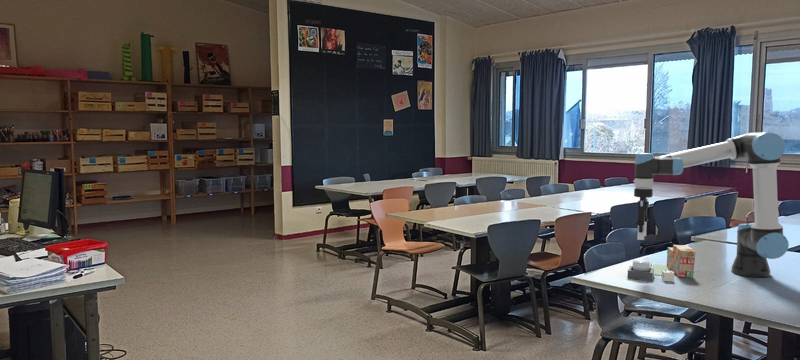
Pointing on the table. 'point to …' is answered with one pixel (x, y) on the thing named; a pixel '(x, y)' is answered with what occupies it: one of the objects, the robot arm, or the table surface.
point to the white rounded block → (641, 265)
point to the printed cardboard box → (681, 260)
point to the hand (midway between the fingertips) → (641, 237)
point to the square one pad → (659, 269)
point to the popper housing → (641, 274)
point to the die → (667, 275)
